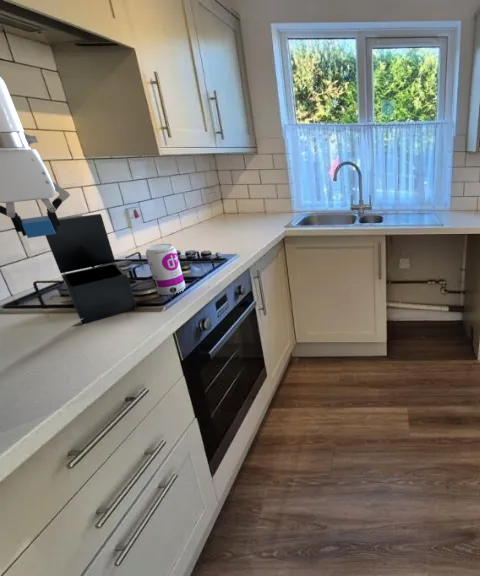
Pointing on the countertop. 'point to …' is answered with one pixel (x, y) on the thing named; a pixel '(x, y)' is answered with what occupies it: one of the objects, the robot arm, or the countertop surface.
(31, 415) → the countertop surface
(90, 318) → the bin
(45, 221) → the blue rectangular block
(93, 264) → the bin lid
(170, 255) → the supplement can
